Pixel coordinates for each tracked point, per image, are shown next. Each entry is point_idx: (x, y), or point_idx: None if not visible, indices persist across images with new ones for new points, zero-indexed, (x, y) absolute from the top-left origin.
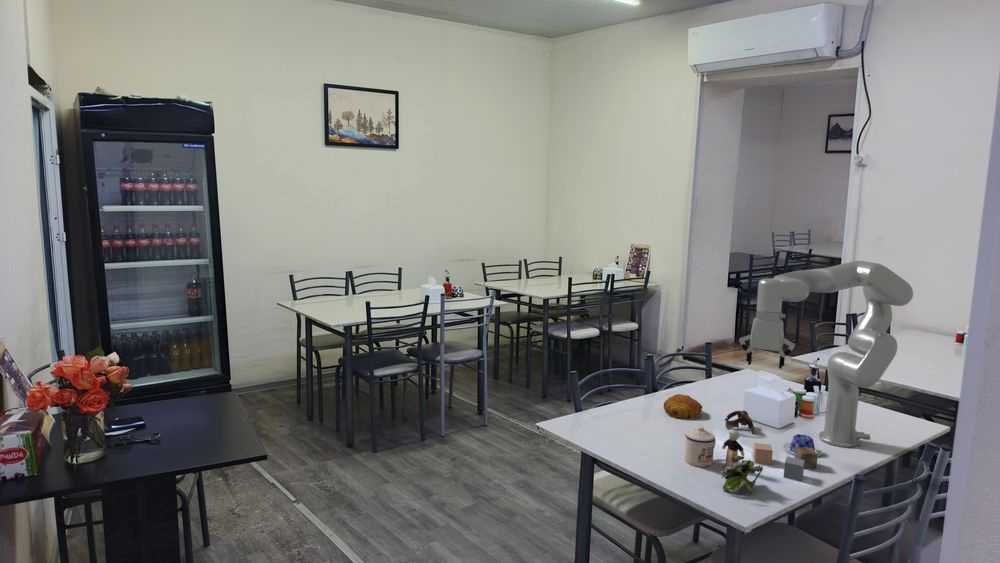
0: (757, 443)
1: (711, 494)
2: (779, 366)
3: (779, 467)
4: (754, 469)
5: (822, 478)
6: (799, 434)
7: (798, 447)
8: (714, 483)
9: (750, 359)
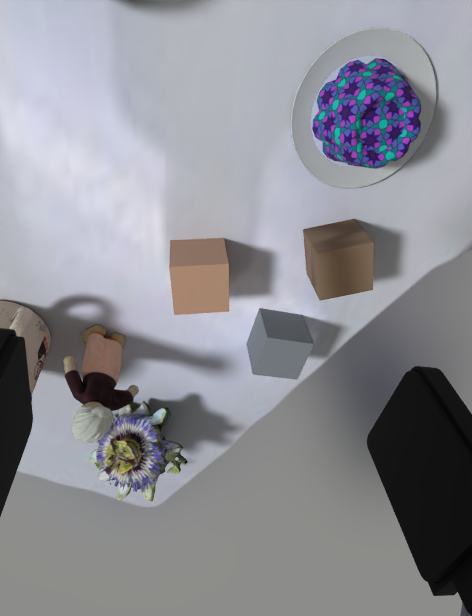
0: (180, 270)
1: (84, 459)
2: (377, 462)
3: (246, 290)
4: (166, 464)
5: (348, 316)
6: (379, 97)
7: (325, 255)
8: None
9: (4, 495)
